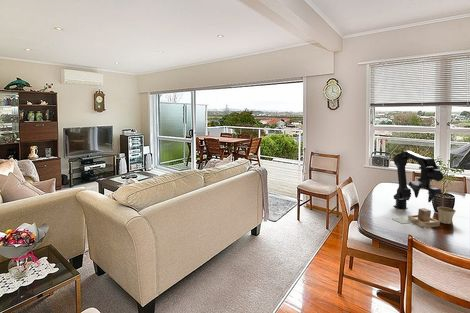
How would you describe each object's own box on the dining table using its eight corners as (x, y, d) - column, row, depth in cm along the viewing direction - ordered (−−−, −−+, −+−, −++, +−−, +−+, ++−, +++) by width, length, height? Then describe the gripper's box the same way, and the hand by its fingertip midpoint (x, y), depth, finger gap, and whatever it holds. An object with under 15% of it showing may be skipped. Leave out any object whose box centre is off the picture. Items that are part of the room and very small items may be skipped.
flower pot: (435, 217, 176) (437, 205, 174) (454, 221, 170) (455, 208, 168) (435, 222, 168) (436, 209, 167) (454, 226, 163) (455, 213, 161)
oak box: (408, 220, 173) (408, 215, 172) (421, 218, 175) (422, 214, 174) (424, 228, 161) (425, 223, 161) (439, 226, 163) (439, 221, 163)
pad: (392, 219, 175) (392, 218, 175) (402, 217, 176) (402, 217, 176) (402, 224, 167) (402, 223, 167) (412, 222, 169) (412, 222, 169)
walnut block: (417, 219, 169) (418, 208, 168) (423, 218, 170) (424, 208, 169) (423, 221, 165) (425, 211, 164) (429, 221, 166) (431, 210, 165)
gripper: (403, 174, 177) (400, 196, 180) (428, 181, 160) (425, 206, 162) (416, 173, 180) (413, 194, 183) (443, 180, 162) (440, 204, 165)
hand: (422, 199), depth 173 cm, fingers open, 9 cm apart
